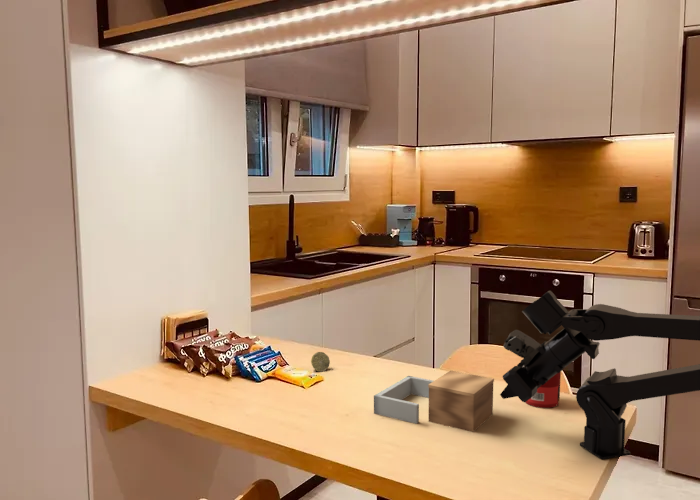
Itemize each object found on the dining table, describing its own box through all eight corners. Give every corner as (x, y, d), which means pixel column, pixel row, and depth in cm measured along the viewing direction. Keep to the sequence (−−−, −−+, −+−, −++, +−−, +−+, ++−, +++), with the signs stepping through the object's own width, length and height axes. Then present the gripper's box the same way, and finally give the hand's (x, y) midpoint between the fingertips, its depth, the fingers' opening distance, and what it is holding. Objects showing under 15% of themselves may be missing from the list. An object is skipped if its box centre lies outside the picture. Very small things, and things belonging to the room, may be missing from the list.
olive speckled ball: (331, 369, 164) (331, 351, 163) (321, 374, 160) (321, 355, 159) (318, 366, 166) (317, 348, 165) (307, 371, 162) (307, 353, 161)
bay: (448, 400, 140) (448, 383, 140) (416, 423, 127) (416, 405, 126) (408, 391, 146) (408, 375, 145) (373, 413, 133) (373, 395, 132)
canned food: (566, 406, 136) (567, 359, 134) (533, 409, 134) (535, 361, 133) (548, 395, 143) (549, 349, 142) (517, 397, 141) (518, 352, 140)
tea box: (493, 415, 132) (494, 378, 131) (473, 433, 122) (474, 394, 121) (450, 405, 137) (450, 370, 136) (427, 422, 128) (428, 384, 127)
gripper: (543, 310, 127) (492, 354, 134) (514, 329, 111) (458, 377, 119) (581, 353, 123) (526, 395, 131) (556, 378, 108) (495, 424, 115)
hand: (502, 396), depth 124 cm, fingers closed
